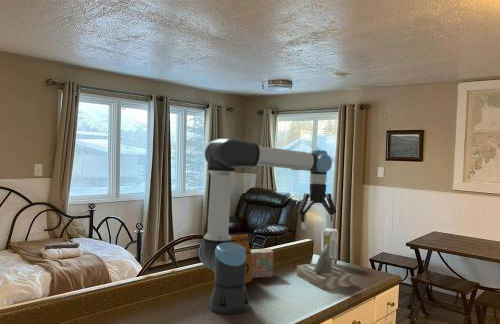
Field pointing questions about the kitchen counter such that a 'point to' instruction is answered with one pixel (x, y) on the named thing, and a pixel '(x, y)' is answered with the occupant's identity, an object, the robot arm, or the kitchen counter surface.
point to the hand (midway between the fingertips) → (316, 228)
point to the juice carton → (330, 243)
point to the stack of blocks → (262, 263)
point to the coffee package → (243, 242)
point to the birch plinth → (324, 277)
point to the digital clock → (324, 261)
